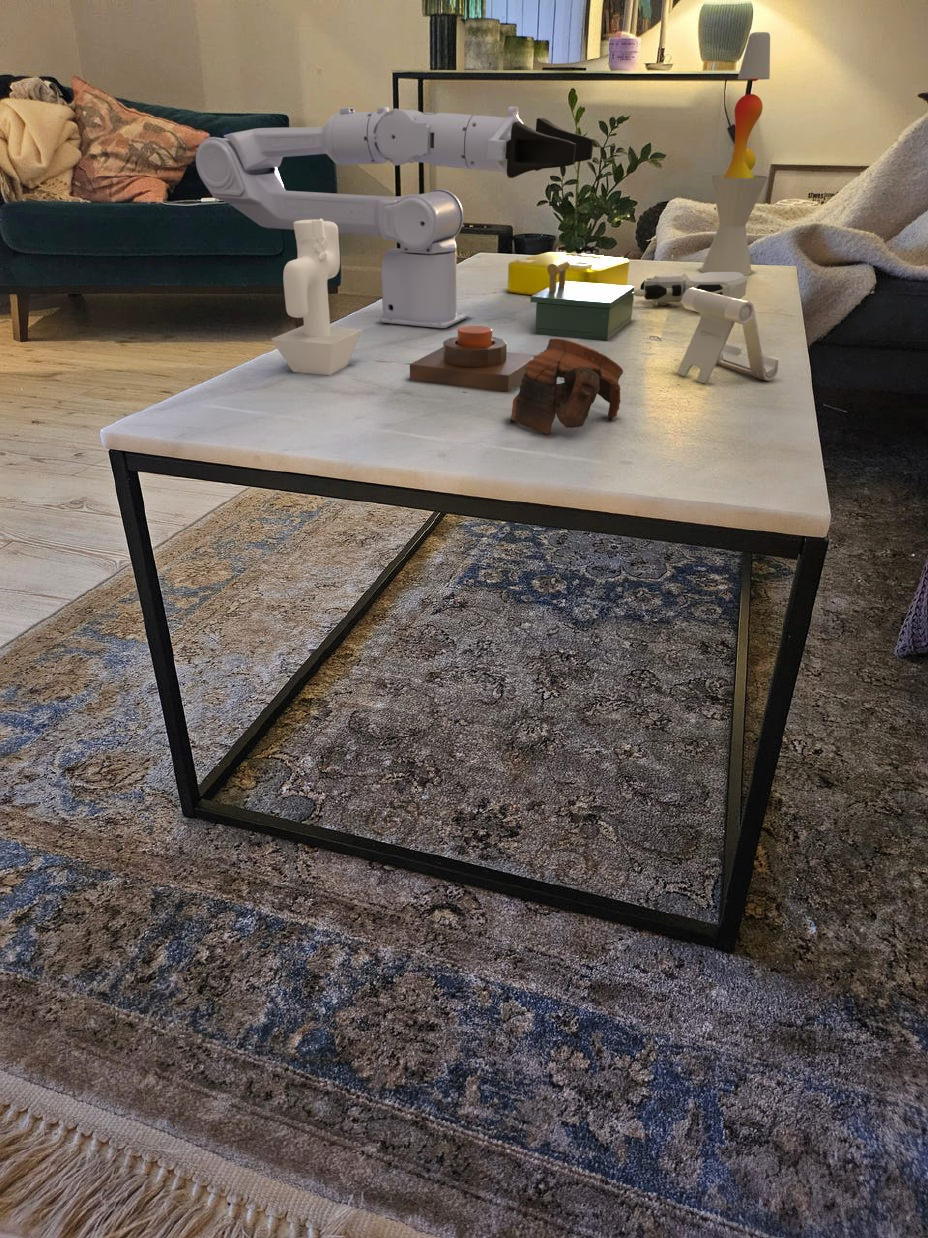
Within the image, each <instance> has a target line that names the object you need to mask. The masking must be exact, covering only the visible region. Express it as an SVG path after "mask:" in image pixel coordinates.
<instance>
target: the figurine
mask: <svg viewBox="0 0 928 1238" xmlns="http://www.w3.org/2000/svg"><path fill="white" fill-rule="evenodd" d="M293 225H294V230H293V231H294V235H295V241H296V249H297V250H296V251H297V258H294V259H292V260H289V261H287V263H286V264H285V265H284V269H283V277H282V279H283V281H282V282H283V292H284V302H285V311H286V313H287V315H288V316H289V317H291V318H297V319H299V318H302V320H303V325H301V326H299V327H296V328H294V329H292V330H289V331H287V332H284V333H282V334H279V335H277V336H274V337H272V338H271V339H270V340H271V341H272V343H273V344H274V346H275V347H276V349H277V351H278V353H280V354H281V356H282V357H283V359H284V360H285V362H286V363H287V365H288V367H289V368H290V369H291V371H292V372H293V373H294V372H295V373H304V374H312V375H323V376H330V375H332V374H334V373H336V372H338V371H340V370H342V369H343V368H345V367H347V366H348V365H349V363H350V361H351V358H352V355H353V353H354V351H355V349H356V346H357V344H358V342H359V340H360V337H361V336H362V333H363V329H355V328H342V327H331V319H330V307H329V306H330V305H329V291H328V280H331V279H333V278H335V277H337V275H338V274H339V272H340V266H341V252H340V251H341V250H340V239H339V237H340V235H339V233H338V227H337V225H336V224H335V223H333V222H330V221H323V219H320V220H300V221H296V222H294V223H293Z"/></svg>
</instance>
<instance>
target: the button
mask: <svg viewBox="0 0 928 1238" xmlns="http://www.w3.org/2000/svg"><path fill="white" fill-rule="evenodd" d="M457 337H458V345H460V346H464V347H486V346H491V345H492V337H493V328H492V327H489V326H484V325H463V326H460V327H459V328H457Z"/></svg>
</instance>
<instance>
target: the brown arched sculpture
mask: <svg viewBox="0 0 928 1238" xmlns="http://www.w3.org/2000/svg"><path fill="white" fill-rule="evenodd" d="M525 371H526V373H525V374H524V376H523V378H522V380H521V383H520V384H519V392H518V394H516V395H515V397H514V398H513V400H512V408H511V415H510V418H509V419H510V421H514V422H518V423H519V424H520V425H521V426H524V427H526V428H529V429H532V430H534V431H537V432H539V433H542V434H545V435H546V436H548V435H550V434H551V429H552V425H553V423H554V421H555V418H556V417H557V419H558V420H559V422H560V424H562V426H564V427H565V428H567V429H573V428H580V427H583V426H584V424H585V422H586V420H587V419H588V416H589V412H590V410H591V406H592V405H593V403H594V402H595V400H596V398H597V395H598V396H599V397H601V398H602V399H603V400H604V401H606V402H607V403H608V404H609V406H608V413H607V417H608V419H609V420H612V419H614V418H616V417H618V416H617V415H618V411H619V410H620V404H621V385H620V384H619V380H620V378H621V377H622V375H623V374H624V370H623V368H622V367H621V366H620V365H619V364H618V363H617V362H615V361H614V360H612V359H611V358H610V357H608V356H607V355H605V354H603V353H600V352H599V351H598V350H595V349H594V348H591V347H589V346H586V345H584V344H581V343H578V342H575V341H572V340H569V339H568V340H567V339H563V338H556V337H555V338H550V339H549V340H548V343H547V346H546V349H545V350H543V351H540V352H539V353H538V354H536V356H535V357H534V358H533V359H532V360H530V361H529V363H528V365H527V366H526V367H525ZM558 378H561V379H563V382H561V383H557V382H558Z"/></svg>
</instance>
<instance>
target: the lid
mask: <svg viewBox="0 0 928 1238" xmlns="http://www.w3.org/2000/svg"><path fill="white" fill-rule="evenodd" d="M568 267H569V261H568V260H567V259H561V260H559V261H557V262H555V263H552V264H550V265H549V266H548V268H547V272H548V274H549V275H550V285H549V287H548V288H547V289H545V290H543V291H541V292H539V293H537V294H535V295H530V303H535V304H537V303H546V304H558V305H570V306H582V307H594V308H606V309H610V308H611V307H613V306H614V305H616V304H617V303H618V302H620V301H621V300H623V299H624V298H626V297H627V296H629V295H630V294H631V293H633V292H634V291H635V286H633V285H627V286H621V285H608V284H594V283H580V282H567V281H565V279H566V269H568ZM558 273H559V282H558V283H556V276H557V274H558Z"/></svg>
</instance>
